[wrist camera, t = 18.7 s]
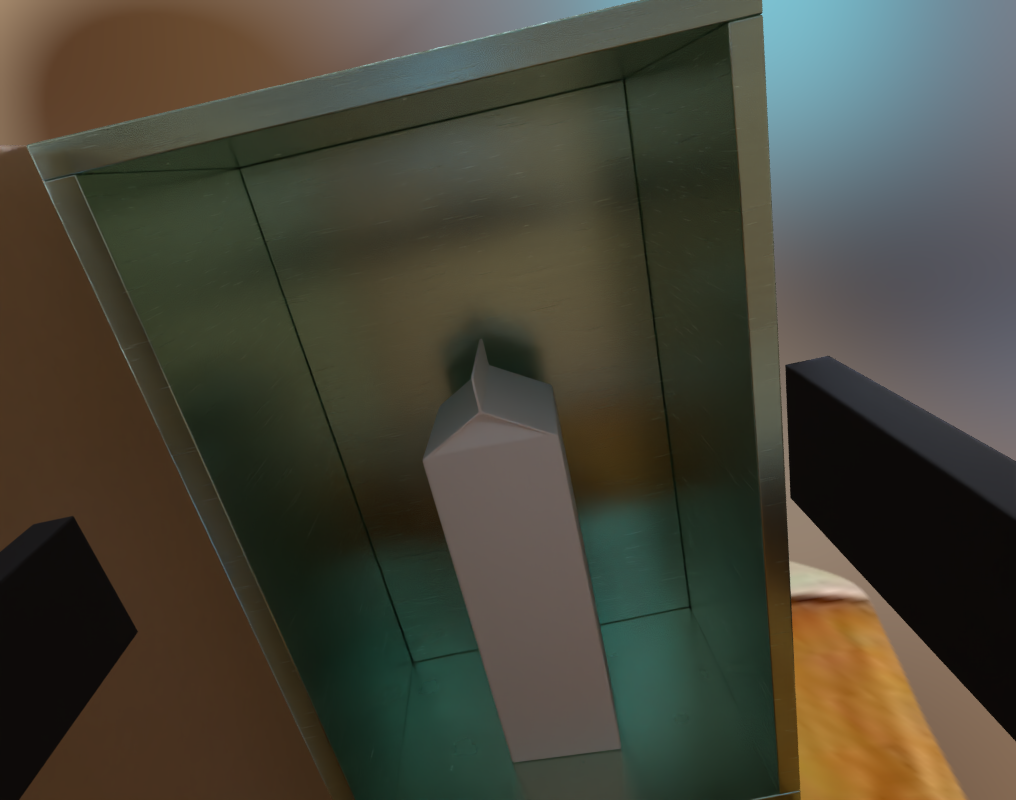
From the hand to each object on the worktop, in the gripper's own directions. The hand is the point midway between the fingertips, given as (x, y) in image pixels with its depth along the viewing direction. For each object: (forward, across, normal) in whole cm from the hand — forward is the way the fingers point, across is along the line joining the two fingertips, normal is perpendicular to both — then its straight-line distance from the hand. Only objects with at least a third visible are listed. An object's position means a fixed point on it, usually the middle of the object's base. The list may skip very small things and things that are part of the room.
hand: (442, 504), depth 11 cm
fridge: (+16, 0, -25) cm, 30 cm away
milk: (+16, 0, -25) cm, 30 cm away
